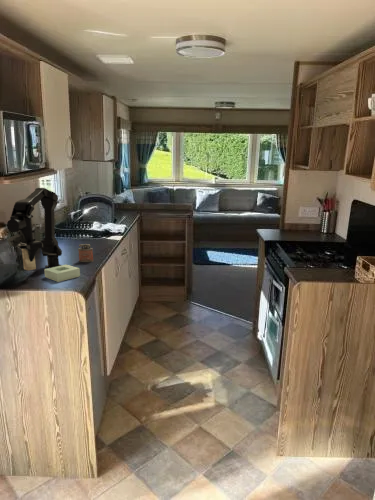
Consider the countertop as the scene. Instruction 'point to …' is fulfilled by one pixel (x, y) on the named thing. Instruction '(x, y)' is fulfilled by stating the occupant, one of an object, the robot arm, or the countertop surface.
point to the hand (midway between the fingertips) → (29, 260)
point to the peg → (28, 261)
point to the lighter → (85, 253)
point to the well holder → (62, 272)
